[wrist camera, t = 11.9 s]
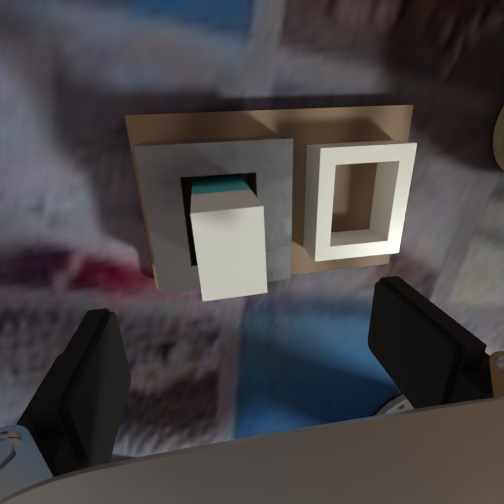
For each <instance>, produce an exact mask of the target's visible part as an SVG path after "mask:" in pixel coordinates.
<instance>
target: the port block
mask: <svg viewBox="0 0 504 504" xmlns="http://www.w3.org/2000/svg"><path fill="white" fill-rule="evenodd" d="M134 151H135V156H136V162H137V167H138V173H139V178H140V184H141V190H142V195H143V201H144V206H145V212H146V217H147V223H148V229H149V234H150V240H151V245H152V251H153V256H154V262H155V267H156V273H157V279H158V284H159V290H160V294H163V293H172V292H181V291H190V290H198V289H201V285H200V278H199V271H198V264H197V257H196V250H195V245H193V246H192V242H191V234H190V226H189V218H188V209H187V201H186V193H185V185H184V177H190V176H206V175H221V174H237V173H248V186H249V188H250V189H251V190H252V192H253V193H254V194H255V195H256V197H257V198H258V199H259V201H260V202H261V203H262V205H263V206H264V228H265V251H266V274H267V282H269V281H278V280H287V279H291V236H292V178H293V138H288V137H284V136H279V135H276V136H255V137H234V138H213V139H193V140H172V141H151V142H142V143H140V144H138V145H136V146H134Z"/></svg>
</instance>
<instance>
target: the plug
mask: <svg viewBox="0 0 504 504" xmlns="http://www.w3.org/2000/svg"><path fill="white" fill-rule="evenodd" d="M190 215H191V222H192V229H193V236H194V243H195V250H196V257H197V264H198V271H199V278H200V285H201V292H202V299H203V301H210V300H217V299H225V298H232V297H239V296H247V295H254V294H261V293H267V274H266V251H265V228H264V206H263V205H262V203H261V202H260V201H259V199H258V198H257V197H256V195H255V194H254V193H253V192H252V190H251V189H250V188H249V186H248V185H247V184H246V182H245V181H244V180H243V178H242V177H241V176H240V174H239V173H237V174H225V175H213V176H202V177H193V178H192V194H191V210H190Z"/></svg>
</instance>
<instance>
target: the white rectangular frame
mask: <svg viewBox="0 0 504 504" xmlns="http://www.w3.org/2000/svg"><path fill="white" fill-rule="evenodd" d="M416 148H417V143H413V142H405V141H396V140H389V141H370V142H351V143H332V144H313V145H307V156H306V185H305V214H304V244H303V248H304V249H305V250H306V251H307V253H308V254H309V255H310V256H311V257H312V259H313V260H314V261H315V262H316V261H325V260H334V259H344V258H353V257H363V256H372V255H382V254H391V253H399V248H400V242H401V236H402V230H403V224H404V218H405V212H406V206H407V200H408V195H409V189H410V183H411V177H412V171H413V165H414V159H415V153H416ZM373 162H377V170H376V178H375V186H374V194H373V202H372V210H371V218H370V226H369V229H364V230H353V231H343V232H332V233H331V224H332V210H333V196H334V182H335V168H336V165H341V164H357V163H373Z"/></svg>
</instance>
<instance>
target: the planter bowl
mask: <svg viewBox="0 0 504 504" xmlns="http://www.w3.org/2000/svg"><path fill="white" fill-rule="evenodd" d="M493 151H494V155H495V159H496V161H497V163H498V165H499V166H500V168H501V169H502V170H503V171H504V106H503V108H502V110H501V112H500V114H499V116H498V119H497V122H496V125H495V129H494V135H493Z"/></svg>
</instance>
